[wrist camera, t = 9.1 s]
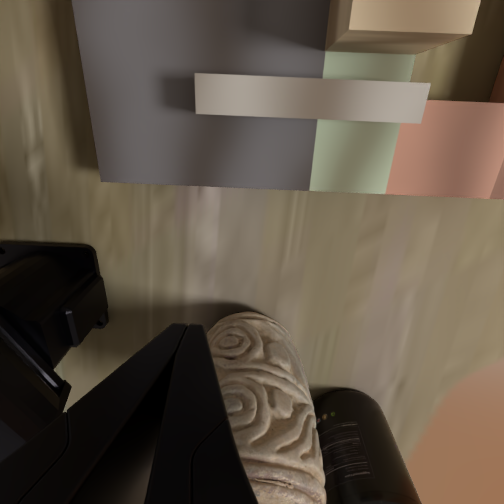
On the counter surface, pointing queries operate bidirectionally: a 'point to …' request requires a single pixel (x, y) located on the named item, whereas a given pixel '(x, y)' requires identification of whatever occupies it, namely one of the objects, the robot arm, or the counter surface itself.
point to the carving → (269, 408)
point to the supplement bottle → (360, 452)
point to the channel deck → (272, 104)
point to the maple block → (397, 25)
